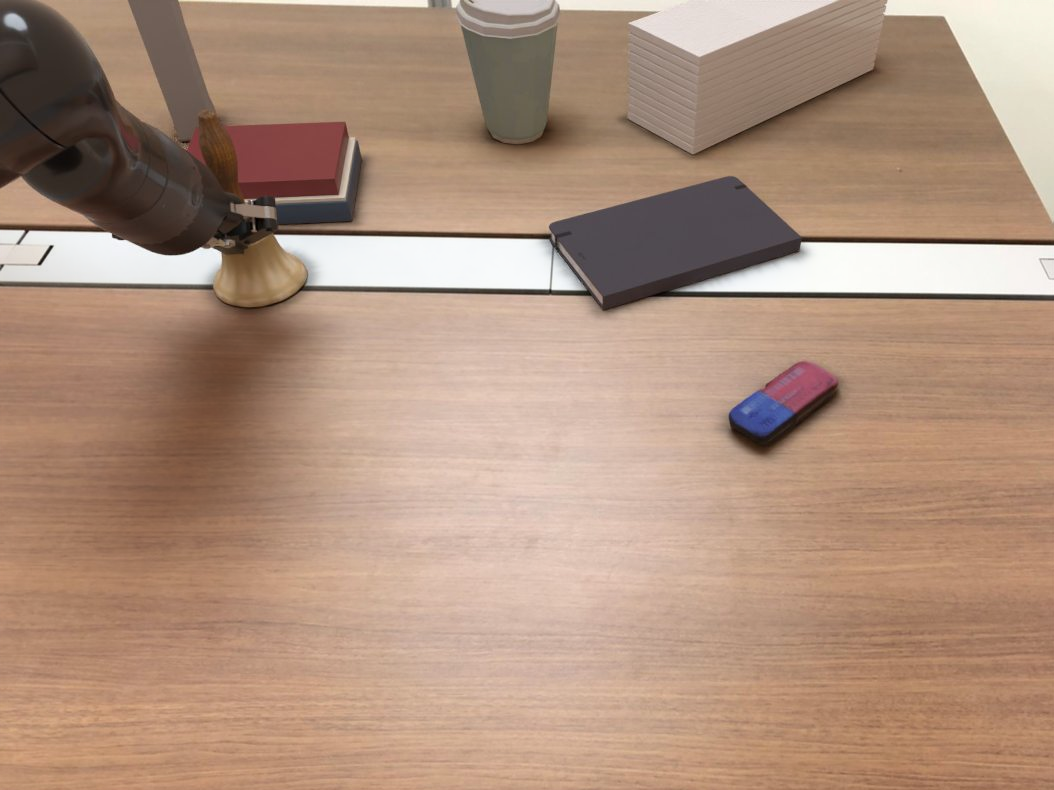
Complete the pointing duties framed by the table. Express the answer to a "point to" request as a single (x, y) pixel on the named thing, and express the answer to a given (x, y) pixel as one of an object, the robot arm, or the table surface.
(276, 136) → the book stack
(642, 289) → the notebook
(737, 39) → the stack of papers
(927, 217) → the table surface
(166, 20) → the tall grey plank
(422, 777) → the table surface
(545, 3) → the disposable coffee cup
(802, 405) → the eraser
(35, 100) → the robot arm
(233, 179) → the hand bell
